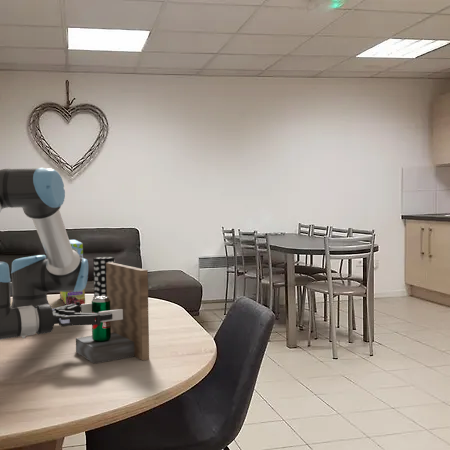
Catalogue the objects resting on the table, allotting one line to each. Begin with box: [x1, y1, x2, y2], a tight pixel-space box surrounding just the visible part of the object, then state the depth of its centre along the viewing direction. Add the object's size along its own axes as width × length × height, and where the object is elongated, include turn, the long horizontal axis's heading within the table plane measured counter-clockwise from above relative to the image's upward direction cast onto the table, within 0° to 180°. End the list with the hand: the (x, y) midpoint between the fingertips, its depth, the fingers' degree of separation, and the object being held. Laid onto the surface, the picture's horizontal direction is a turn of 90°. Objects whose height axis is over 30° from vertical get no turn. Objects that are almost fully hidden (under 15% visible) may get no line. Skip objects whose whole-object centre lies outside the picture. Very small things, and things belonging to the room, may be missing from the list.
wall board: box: [75, 262, 150, 364], centre depth 157 cm, size 24×14×24 cm, turn 34°
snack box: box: [59, 239, 86, 305], centre depth 241 cm, size 22×9×26 cm, turn 23°
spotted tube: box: [92, 256, 116, 297], centre depth 225 cm, size 8×8×20 cm
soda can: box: [91, 296, 111, 342], centre depth 156 cm, size 5×5×12 cm
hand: (112, 310), depth 158 cm, fingers open, 13 cm apart
